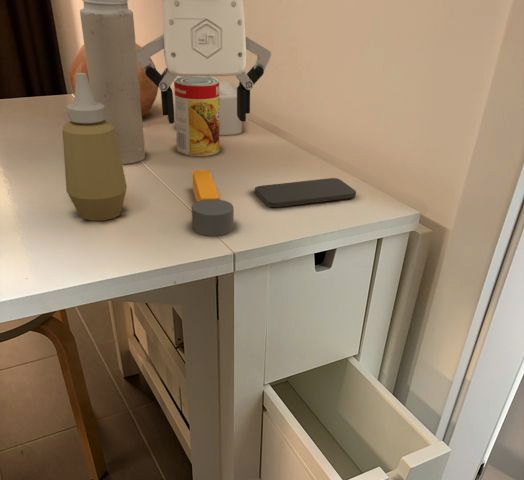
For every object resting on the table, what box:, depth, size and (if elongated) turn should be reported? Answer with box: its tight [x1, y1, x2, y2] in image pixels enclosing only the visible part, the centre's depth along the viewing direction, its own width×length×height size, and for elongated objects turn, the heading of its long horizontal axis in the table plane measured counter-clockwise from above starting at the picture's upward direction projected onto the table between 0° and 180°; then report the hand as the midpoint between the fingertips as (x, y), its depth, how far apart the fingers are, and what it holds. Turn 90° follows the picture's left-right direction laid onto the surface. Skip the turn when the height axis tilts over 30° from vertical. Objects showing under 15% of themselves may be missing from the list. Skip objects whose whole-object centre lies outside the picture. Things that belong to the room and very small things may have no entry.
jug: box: [68, 42, 159, 120], centre depth 115 cm, size 18×18×20 cm
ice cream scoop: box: [191, 169, 235, 237], centre depth 80 cm, size 17×6×3 cm, turn 12°
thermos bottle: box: [79, 0, 146, 165], centre depth 90 cm, size 8×8×28 cm
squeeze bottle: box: [62, 73, 128, 221], centre depth 73 cm, size 8×8×18 cm
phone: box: [254, 177, 357, 208], centre depth 87 cm, size 7×1×15 cm
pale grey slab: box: [219, 81, 243, 136], centre depth 113 cm, size 10×13×9 cm
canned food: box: [173, 76, 221, 157], centre depth 100 cm, size 8×8×12 cm
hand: (206, 120), depth 75 cm, fingers open, 9 cm apart
